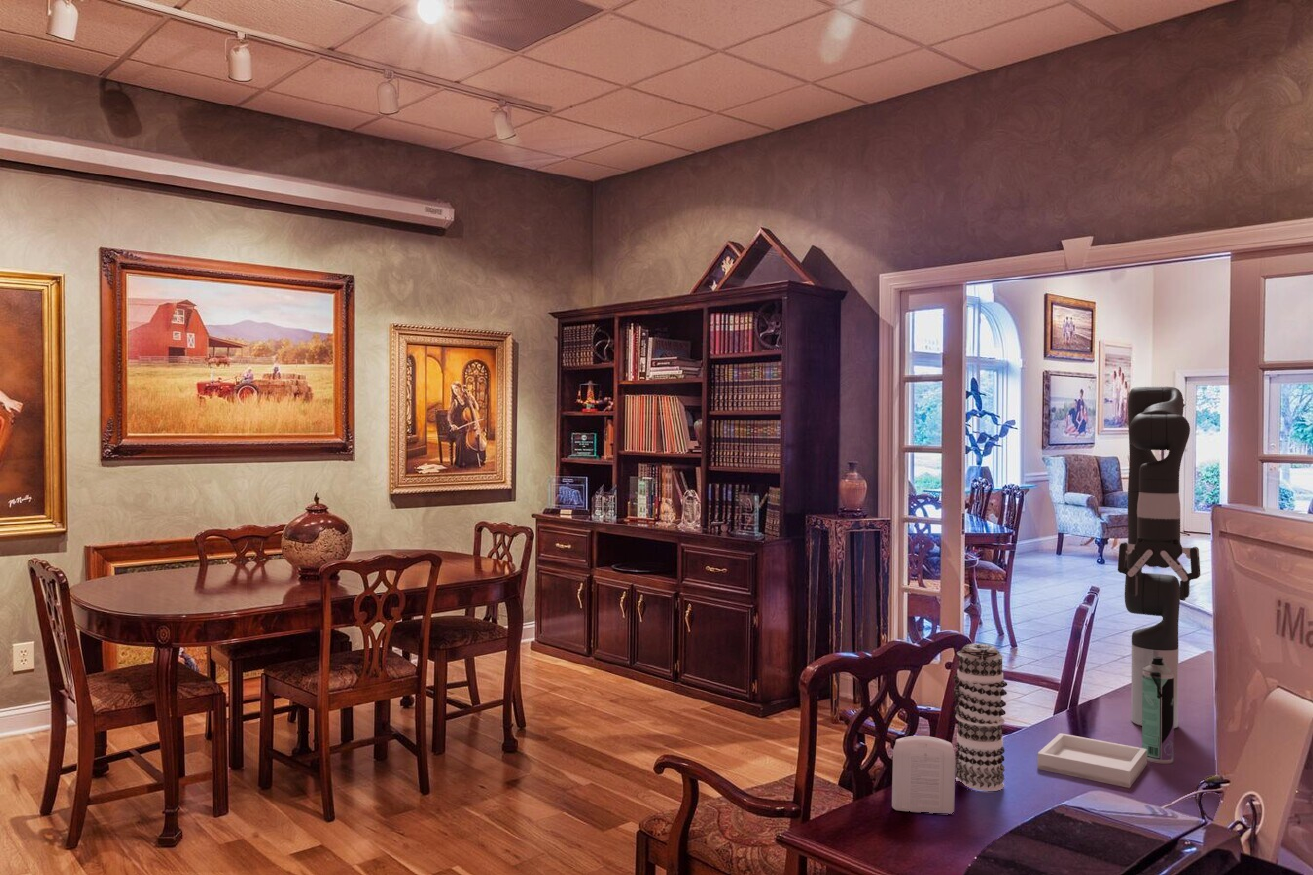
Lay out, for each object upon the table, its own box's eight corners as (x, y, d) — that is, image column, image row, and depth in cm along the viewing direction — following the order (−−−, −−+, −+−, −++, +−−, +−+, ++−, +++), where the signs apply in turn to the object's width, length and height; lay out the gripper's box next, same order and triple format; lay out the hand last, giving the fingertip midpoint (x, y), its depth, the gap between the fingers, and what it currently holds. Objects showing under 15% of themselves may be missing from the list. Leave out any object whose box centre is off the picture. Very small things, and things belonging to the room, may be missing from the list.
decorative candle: (980, 796, 166) (981, 653, 166) (942, 779, 174) (943, 643, 175) (1017, 788, 170) (1018, 649, 171) (978, 772, 179) (979, 639, 179)
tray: (1060, 747, 193) (1060, 733, 193) (1146, 764, 184) (1147, 748, 184) (1037, 768, 181) (1037, 752, 181) (1129, 787, 171) (1129, 771, 171)
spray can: (1177, 764, 184) (1177, 661, 184) (1146, 762, 185) (1147, 659, 185) (1168, 755, 189) (1168, 655, 189) (1138, 753, 190) (1139, 653, 190)
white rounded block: (952, 807, 161) (953, 734, 161) (956, 817, 157) (957, 742, 157) (890, 803, 163) (891, 731, 163) (893, 812, 159) (893, 738, 159)
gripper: (1202, 516, 186) (1202, 599, 186) (1123, 512, 194) (1122, 591, 195) (1196, 518, 180) (1196, 604, 180) (1115, 514, 189) (1114, 596, 189)
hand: (1158, 597), depth 187 cm, fingers open, 8 cm apart
